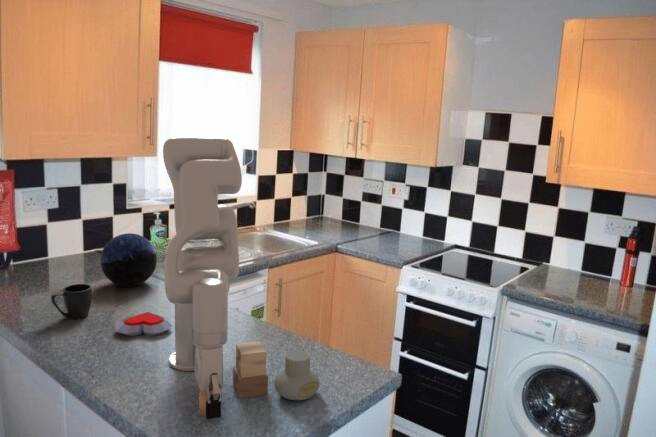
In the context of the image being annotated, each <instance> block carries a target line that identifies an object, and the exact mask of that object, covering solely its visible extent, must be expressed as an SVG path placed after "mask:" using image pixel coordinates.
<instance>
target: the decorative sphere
mask: <svg viewBox="0 0 656 437" xmlns="http://www.w3.org/2000/svg"><path fill="white" fill-rule="evenodd" d="M99 261H100V267H101V271H102V273H103V275H104V276H105V277H106V279H108V280H109V281H110V282H112V283H113V284H115V285H118V286H119V287H120V286H121V287H124V288H125V287H135V286H139V285H141V284H143V283H145V282H146V281H148V280H149V279H150V278H151V276H153V273H154V272H155V270H156V267H157V262H158V256H157V251H156V249H155V247H154V245H153V244H152V242H151V241H149V239H147V238H146V237H144V236H143V235H140V234H137V233H130V232H129V233H122V234H119V235H116V236H114V237H113V238H111V239H110V240H109V241H108V242H107V243H106V244H105V245H104V247H103V249H102V251H101V254H100V260H99Z"/></svg>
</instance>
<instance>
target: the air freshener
mask: <svg viewBox="0 0 656 437" xmlns="http://www.w3.org/2000/svg"><path fill="white" fill-rule="evenodd" d="M284 364H285V366H284V369H282V370H281V371H279V373H277V375H276V376H275V378H274V381H273V382H274V384H273V385H274V388H275V391H276V393H278V394H279V395H280V396H281V397H283V398H284V399H287V400H291V401H304V400H307V399H309V398H311V397H312V396H314V395H315V394H317V392H318V390H319V387H320V379H319V376H318V375H317V374H316V373H315V372H314V371H313V370H311V369H310V368H311V356H310V355H309V354H308V353H307V352H304V351H290V352H289V353H287V355H285V362H284Z"/></svg>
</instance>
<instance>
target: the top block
mask: <svg viewBox="0 0 656 437" xmlns="http://www.w3.org/2000/svg"><path fill="white" fill-rule="evenodd" d="M235 366H236V368H237V370H238V373H239V375H240V377H241V378H245V377H253V376H260V375H266V373H267V351H266V348H265V347H264V345H263V344H262V342H261V341H260V340H259V341H250V342H243V343H236V344H235Z"/></svg>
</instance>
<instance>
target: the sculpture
mask: <svg viewBox="0 0 656 437" xmlns="http://www.w3.org/2000/svg"><path fill="white" fill-rule="evenodd" d="M171 327H173V324H172V323H171V322H169V320H167V319H166V318H165V317H163V316H160V315H157V314H154V313H153V312H149V311H147V312H146V311H145V312H143V313H140V314H137V315H132V316H130V317H129V316H128V317H126V318H125V319H122V320H121V321H120V322H119V323H116V325H115V326H114V329H115V332H117V333H118V334H121V335H124V336H128V337H134V336H138V335H141V334H144V335H147V336H151V337H152V336H158V335H162V334H163V333H165V332H166V331H168V330H169V329H170V328H171Z"/></svg>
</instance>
